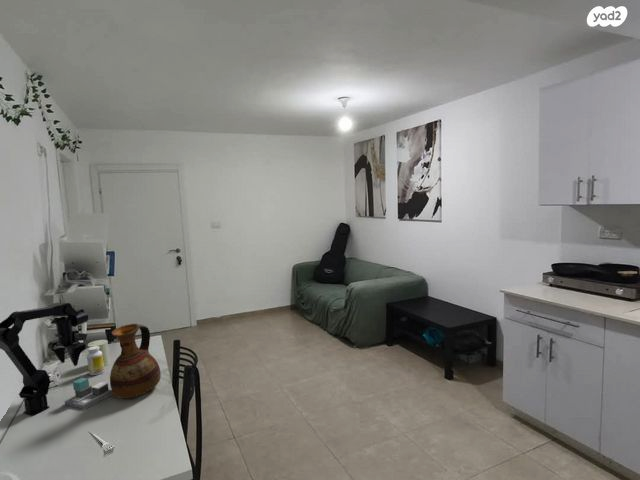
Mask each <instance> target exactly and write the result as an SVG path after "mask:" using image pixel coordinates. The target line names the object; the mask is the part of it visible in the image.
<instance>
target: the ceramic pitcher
mask: <svg viewBox="0 0 640 480" xmlns="http://www.w3.org/2000/svg"><path fill="white" fill-rule="evenodd" d="M138 330H140V333H141V334H140V335H141V341H140V346H139V347H138V345H137V343H136V334H137V332H138ZM111 335H112V336H114V337H115V338H117V339H118V341H119V346H120V349H121V351H120V354H119V356H117V358H116V359H115V361H114V362H113V365H112V367H111V369H110V374H109V385H110V388H111V389H110V390H112V391H113V394H114V395H115V396H116V397H117V398H121V399H129V398H135V397H138V396H141V395H145V394H146V393H147V392H149V391H150V390H152V389H154V388H155V387H156V386H157V385H158V384H159V383H160V380H161V379H162V378H161V377H162V375H161V373H162V371H161V368H160V365H159V363H158V361H157V360H156V358H155V357H154V356H153V355H152V354H151V352H150V351H149V347H150V342H151V341H150V340H151V333H150V329H149V327H147V325H144V324H138V323H130V324H124V325H121V326H120V327H117V328H115V329H114V330H112V331H111Z"/></svg>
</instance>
